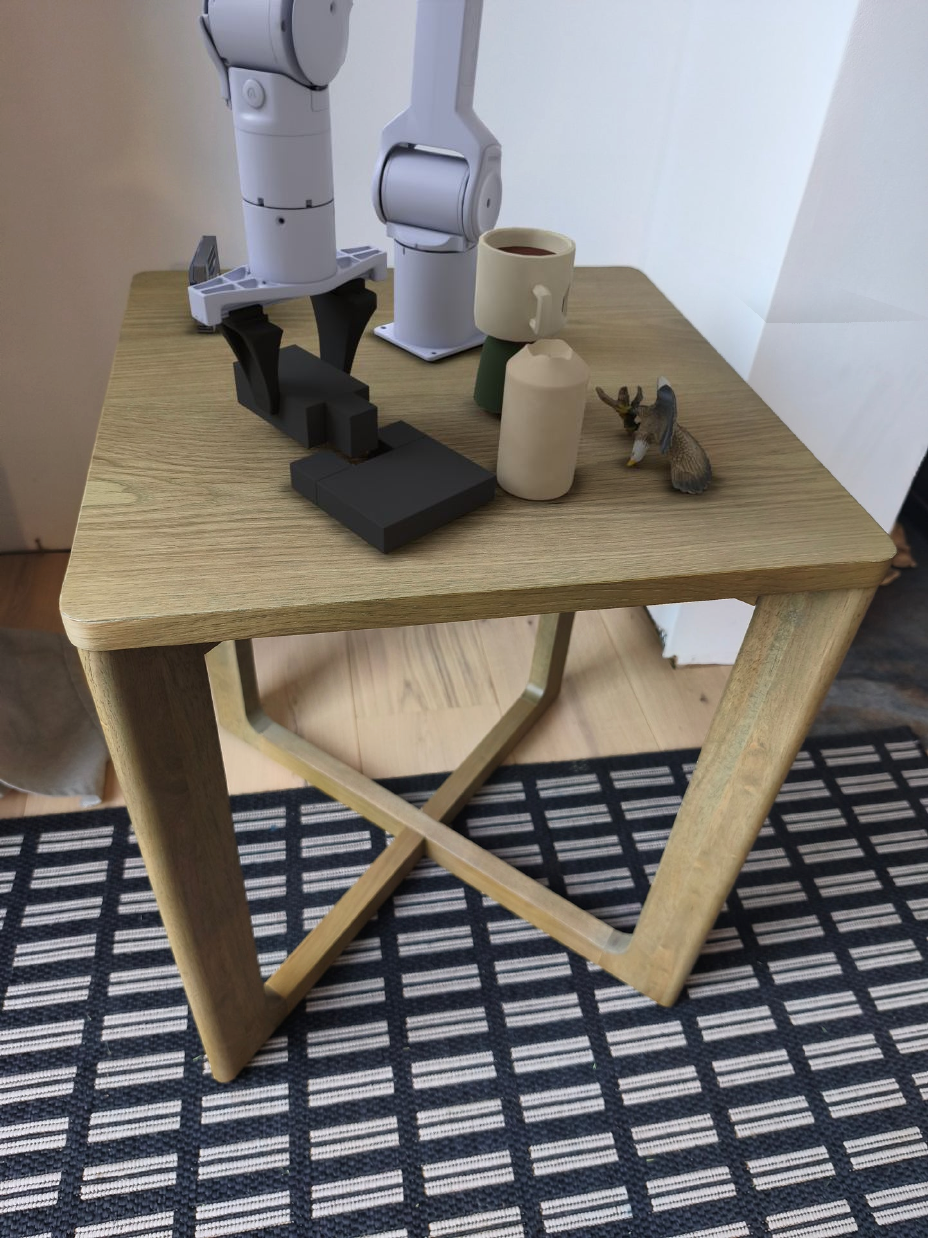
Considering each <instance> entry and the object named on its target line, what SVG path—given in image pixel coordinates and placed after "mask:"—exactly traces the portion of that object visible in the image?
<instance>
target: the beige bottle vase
mask: <svg viewBox="0 0 928 1238" xmlns="http://www.w3.org/2000/svg"><path fill="white" fill-rule="evenodd" d="M590 376H591V370H590V368H589V366H588V365H587V364H586V362H585V361H584V360H583V359H582V358H581V356H580V355H579V354H577V352H576V351H575V350H574V349H573V348H572V347H571V346H570V345H569V344H568V343H567V342H566V341H565V340H563V339H557V338H555V339H552V338H549V339H540V340H538V341H536V342H535V343H534V344H527V345H526V346H525V347H524V348H523V349H521V350H520V351H519V352H518V353H516V354H515V355H514V356H513V357H512V358H510V359H509V361H508V362H507V365H506V375H505V386H504V397H503V408H502V413H501V420H500V430H499V442H498V452H497V461H496V462H497V463H496V475H497V483H498V485H499V486H500V487H501V488H502V489H503V490H504V491H506V492H508V493H509V494H511V495H513V496H515V497H518V498H521V499H525V500H526V499H527V500H533V501H546V500H553V499H557V498H560V497H562V496H564V495H565V494H566V493H568V492H569V491H570V489H571V487H572V484H573V482H574V476H575V471H576V470H575V469H576V463H577V459H578V451H579V446H580V441H581V433H582V427H583V421H584V416H585V415H584V414H585V409H586V402H587V396H588V389H589V383H590Z"/></svg>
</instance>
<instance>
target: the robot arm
mask: <svg viewBox="0 0 928 1238" xmlns="http://www.w3.org/2000/svg"><path fill="white" fill-rule="evenodd" d="M484 2H485V0H416V12H415V28H414V42H413V55H412V56H413V57H412V68H411V70H412V71H411V86H410V100H409V102H410V103H409V105H407V107H406V108H405V109H403V110H402V111H401V112H400V113H399V114H397V115H396V116H395V117H393V118H392V119H391V120H390V121H389V122H387V123H386V124H385V125H384V126H383V127H382V129H381V133H380V142H379V144H380V145H379V149H378V154H377V159H376V162H375V165H374V168H373V172H372V176H371V184H370V185H371V187H370V192H371V194H370V195H371V203H372V206H373V208H374V211H375V214H376V216H377V219H378V220H379V221H380V223H382V225H384V226H386V229H385V232H386V237H387V238H391V239H393V321H392V322H389V323H386V324H383V325H380V326H377V327H374V328H373V334H374V335H376V336H378V337H380V338H382V339H384V340H386V341H388V342H390V343H391V344H394V345H395V346H397V347H399V348H401V349H402V350H406V351H407V352H409V353H411V354H413V355H415V356H417V357H419V358H421V359H423V360H425V361H427V362H434V361H437V360H440V359H442V358H445V357H448V356H451V355H454V354H457V353H460V352H462V351H466V350H468V349H471V348H474V347H477V346H480V345H483V344H484V342H485V340H486V338H487V336H488V334H485V333H483V332H482V331H481V330H479V329H478V328H477V327H476V326H475V317H474V304H475V289H476V273H477V258H478V243H479V237H480V236H481V235H482V234H483V233H485V232H487V231H490V230H493V229H495V227H496V226H497V222H498V219H499V217H500V212H501V208H502V201H503V179H502V156H503V151H502V147H503V145H502V143H501V142H500V140H499V139H498V137H497V136H496V135H495V134H494V132H493V131H492V130H491V129H490V128H489V127H488V125H487V124H486V123H485V122H484V121H483V119H482V118H481V117H480V116H479V115H478V114H477V112H476V111H475V109H474V101H475V92H476V91H475V90H476V81H477V80H476V79H477V70H478V63H479V62H478V61H479V50H480V41H481V31H482V24H483V23H482V22H483V14H484V13H483V12H484V4H485V3H484ZM201 5H202V6H201V7H202V14H201V15H198V18H197V20H198V27H199V31H200V36H201V39H202V42H203V45H204V48H205V50H206V52H207V55H208V56H209V58H210V60H211V62H212V63H213V65H214V67H215V69H216V71H217V74H218V78H219V86H220V95H221V99H223V100H224V103H225V106H226V107H227V108H228V109H229V110H231V111H232V120H233V121H232V122H233V129H234V138H235V139H234V140H235V147H236V148H235V149H236V157H237V167H238V177H239V186H240V195H241V204H242V214H243V223H244V231H245V232H244V233H245V241H246V250H247V261H248V262H247V263H244V264H242V265H241V266H238V267H236V268H234V269H232V270H229V271H227V272H225V273H223V274H221V275H220V276H218V277H216V278H214V279H211V280H209V281H206V282H203V283H200V284H197V285H193V286H190V285H189V286H188V287H187V292H188V298H189V305H190V312H191V317H192V318H194V320H195V319H197V320H198V321H200V322H202V323H204V324H205V325H207V326H213V325H216V328H217V329H218V331H219V332H220V334H221V335H222V336H223V338H224V339H225V341H226V342H227V344H228V346H229V347H230V349H231V350H232V353H233V355H234V357H235V358H236V361H238V362H239V364H240V366H241V368H242V370H243V372H244V374H245V377H246V379H247V382H248V384H249V387H250V390H251V392H252V395H253V398H254V401H255V405H256V406H257V407H258V408H260V409H261V410H263V411H264V412H266V413H268V414H269V415H275V414H278V413H279V405H280V390H279V378H278V361H279V351H280V348H281V343H282V338H283V334H284V329H283V328H282V327H280V326H278V325H276V324H274V323H273V322H271V321H270V320H269V314H268V313H264V308H266V307H267V308H268V307H270V306H273V305H278V304H283V303H286V302H289V301H293V300H297V299H298V300H299V299H301V298H305V297H309V299H310V302H311V305H312V306H311V307H312V309H313V310H312V311H313V314H314V318H315V323H316V328H317V334H318V335H317V336H318V346H319V358H320V359H322V360H324V361H326V362H328V363H329V364H331V365H333V366H335V367H336V368H338V369H340V370H342V371H344V372H345V373H347V374H349V375H351V372H352V369H353V365H354V360H355V357H356V353H357V350H358V347H359V344H360V342H361V338H362V336H363V334H364V332H365V330H366V327H367V326H368V323H369V322H370V320H371V318H372V317H373V314H375V312H376V310H377V308H378V294H377V293H376V292H375V291H373V290H371V289H369V288H368V287H366V282H367V281H370V280H371V282H375V283H379V282H382V281H387V280H388V252H387V251H385V250H383V249H380V248H379V247H376V246H374V245H371V244H366V245H362V246H354V247H347V248H337V236H336V232H337V231H336V209H335V208H336V207H335V188H334V164H333V139H332V137H333V136H332V115H331V113H332V112H331V90H330V83H331V82H333V81H334V80H335V78H336V77H337V76H338V73H339V72H340V70H341V68H342V66H343V65H344V63H345V62H346V58H347V54H348V53H347V52H348V47H349V38H350V16H351V12H352V9H353V6H354V2H353V0H202V4H201ZM418 146H425V147H430V148H436V149H442V150H447V151H453V152H456V153H458V154H461V155H462V156H459V155H454V154H448V153H442V152H435V151H430V150H425V149H420V148H416V147H418Z"/></svg>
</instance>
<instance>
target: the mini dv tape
mask: <svg viewBox="0 0 928 1238" xmlns="http://www.w3.org/2000/svg"><path fill="white" fill-rule="evenodd" d="M221 273H222V272H221V266H220V257H219V249H218V242H217V236H216V235H202V236H201V238H200V240H199V243H198V246H197V247H196V249H195V252H194V255H193V258H192V260H191V262H190V266H189V270H188V281H189V286H193V285H197V284H200V283H203V282H206V281H209V280H211V279H214V278H216V277H218V276H220V275H222V274H221ZM194 321H195V329H196V333H215V331H216V328H217V326H216V325H213V326H207V325H205V324H204V323H202V322H200V321H198V320H197V319H195V318H194Z"/></svg>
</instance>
